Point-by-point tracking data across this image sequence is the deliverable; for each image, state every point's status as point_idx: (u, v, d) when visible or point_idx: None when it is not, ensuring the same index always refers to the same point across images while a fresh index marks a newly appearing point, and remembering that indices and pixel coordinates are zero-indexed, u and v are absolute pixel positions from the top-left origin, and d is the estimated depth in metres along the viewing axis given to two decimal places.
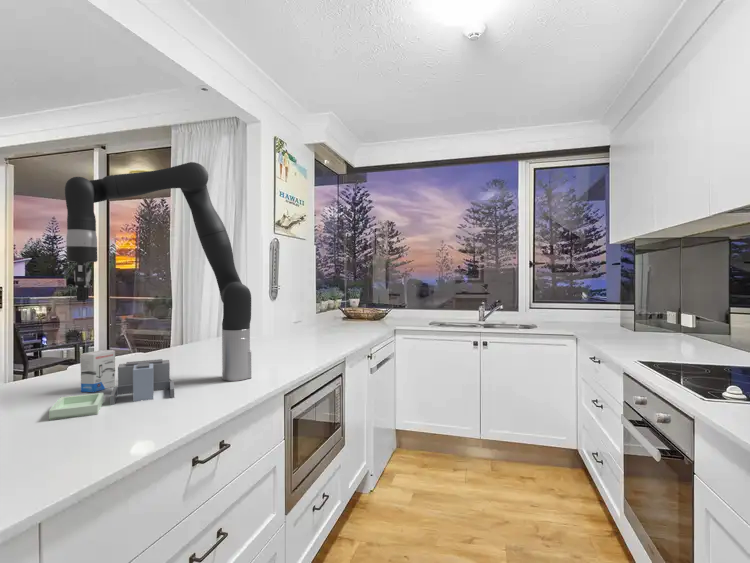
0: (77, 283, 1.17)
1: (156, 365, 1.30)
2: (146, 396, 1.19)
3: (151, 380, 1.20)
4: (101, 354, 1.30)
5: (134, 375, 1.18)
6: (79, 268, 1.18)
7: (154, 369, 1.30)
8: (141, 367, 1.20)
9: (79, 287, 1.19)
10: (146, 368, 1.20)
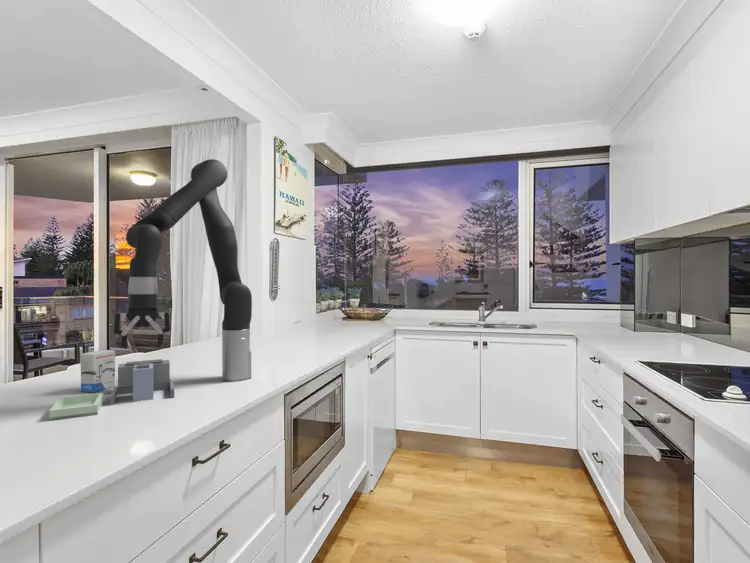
0: (169, 329, 1.25)
1: (156, 365, 1.30)
2: (146, 396, 1.19)
3: (151, 380, 1.20)
4: (101, 354, 1.30)
5: (134, 375, 1.18)
6: (168, 315, 1.25)
7: (154, 369, 1.30)
8: (141, 367, 1.20)
9: (163, 333, 1.24)
10: (146, 368, 1.20)
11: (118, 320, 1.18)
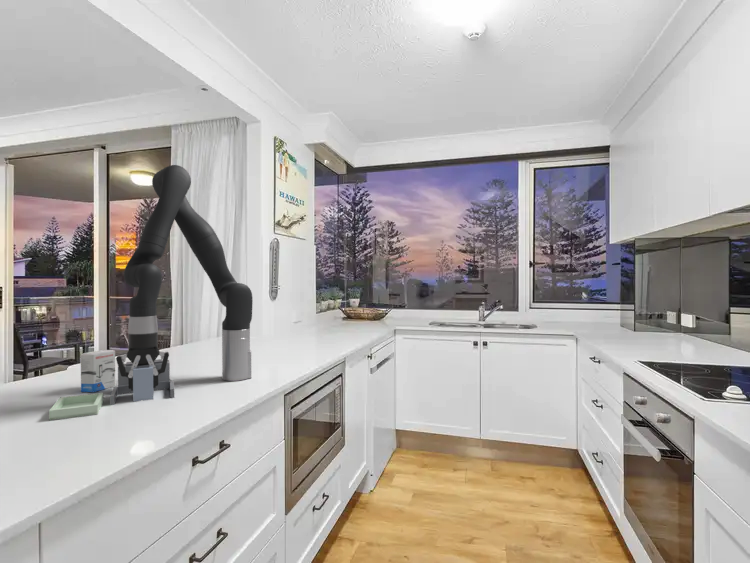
0: (164, 370, 1.24)
1: (156, 365, 1.30)
2: (146, 396, 1.19)
3: (151, 380, 1.20)
4: (101, 354, 1.30)
5: (134, 375, 1.18)
6: None
7: None
8: (141, 367, 1.20)
9: None
10: (146, 368, 1.20)
11: (121, 363, 1.19)
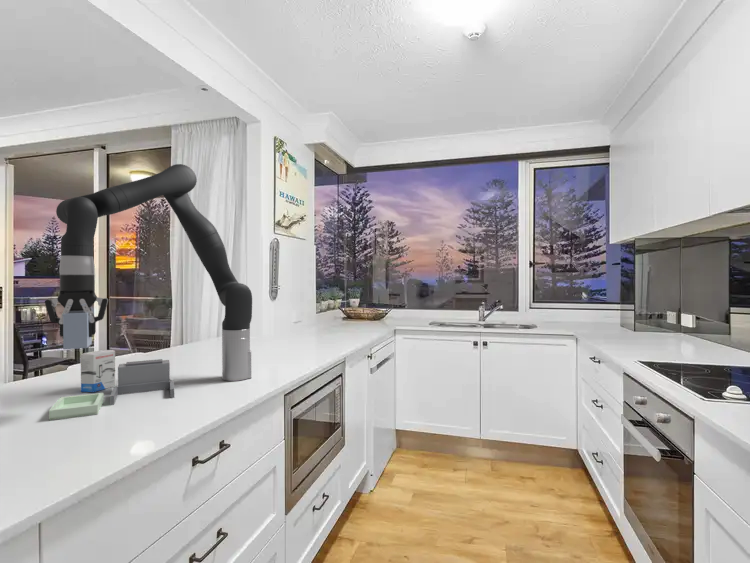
0: (102, 317, 1.12)
1: (156, 365, 1.30)
2: (79, 344, 1.07)
3: (85, 326, 1.07)
4: (101, 354, 1.30)
5: (64, 320, 1.05)
6: (107, 302, 1.13)
7: (154, 369, 1.30)
8: (74, 312, 1.07)
9: None
10: (79, 313, 1.07)
11: (50, 307, 1.06)
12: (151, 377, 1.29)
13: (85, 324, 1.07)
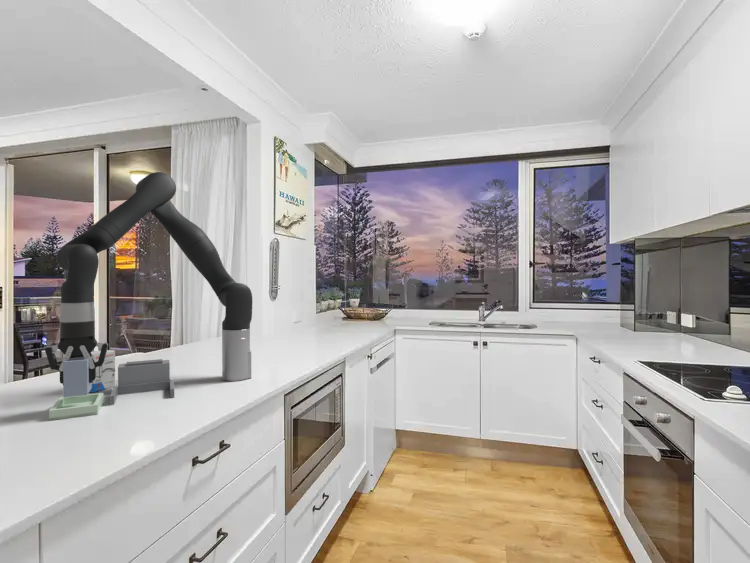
0: (102, 363, 1.12)
1: (156, 365, 1.30)
2: (79, 392, 1.07)
3: (85, 373, 1.07)
4: None
5: (65, 368, 1.05)
6: (107, 347, 1.13)
7: (154, 369, 1.30)
8: (74, 359, 1.08)
9: None
10: (79, 360, 1.08)
11: (50, 355, 1.06)
12: (151, 377, 1.29)
13: (85, 371, 1.07)
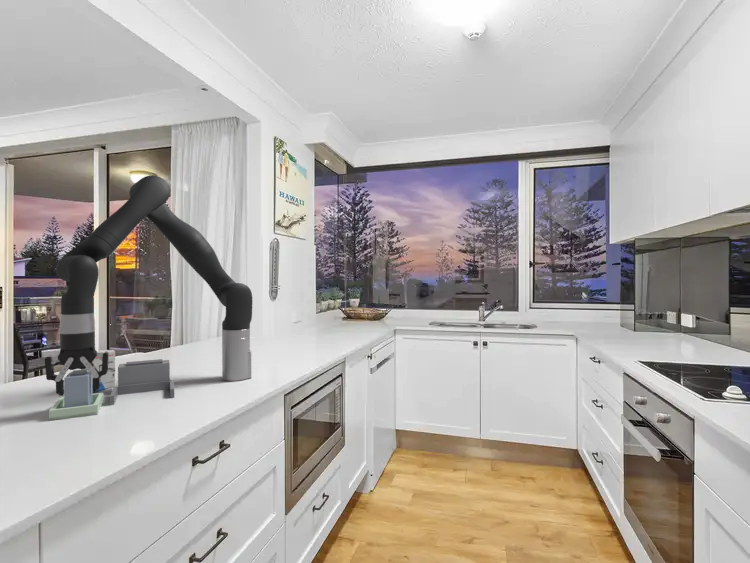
0: (106, 372, 1.12)
1: (156, 365, 1.30)
2: None
3: (86, 389, 1.08)
4: None
5: (66, 384, 1.06)
6: (108, 356, 1.13)
7: (154, 369, 1.30)
8: (75, 375, 1.08)
9: None
10: (80, 376, 1.08)
11: (49, 365, 1.06)
12: (151, 377, 1.29)
13: (86, 387, 1.08)
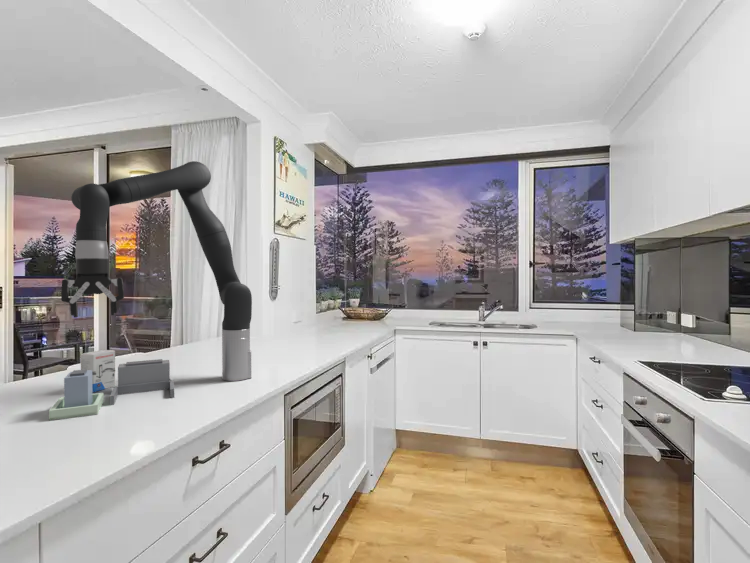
0: (123, 296, 1.18)
1: (156, 365, 1.30)
2: None
3: (86, 389, 1.08)
4: (101, 354, 1.30)
5: (66, 384, 1.06)
6: (122, 281, 1.18)
7: (154, 369, 1.30)
8: (75, 375, 1.08)
9: None
10: (80, 376, 1.08)
11: (65, 287, 1.11)
12: (151, 377, 1.29)
13: (86, 387, 1.08)
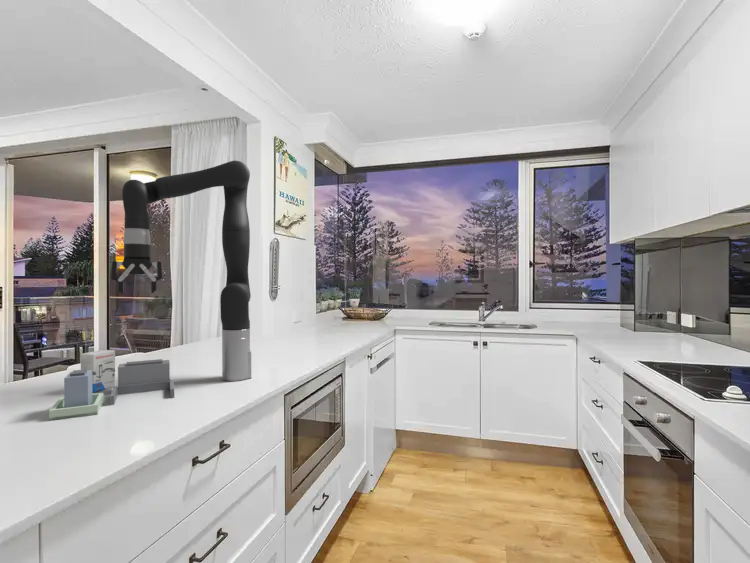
0: None
1: (156, 365, 1.30)
2: None
3: (86, 389, 1.08)
4: (101, 354, 1.30)
5: (66, 384, 1.06)
6: None
7: (154, 369, 1.30)
8: (75, 375, 1.08)
9: None
10: (80, 376, 1.08)
11: (115, 267, 1.31)
12: (151, 377, 1.29)
13: (86, 387, 1.08)
